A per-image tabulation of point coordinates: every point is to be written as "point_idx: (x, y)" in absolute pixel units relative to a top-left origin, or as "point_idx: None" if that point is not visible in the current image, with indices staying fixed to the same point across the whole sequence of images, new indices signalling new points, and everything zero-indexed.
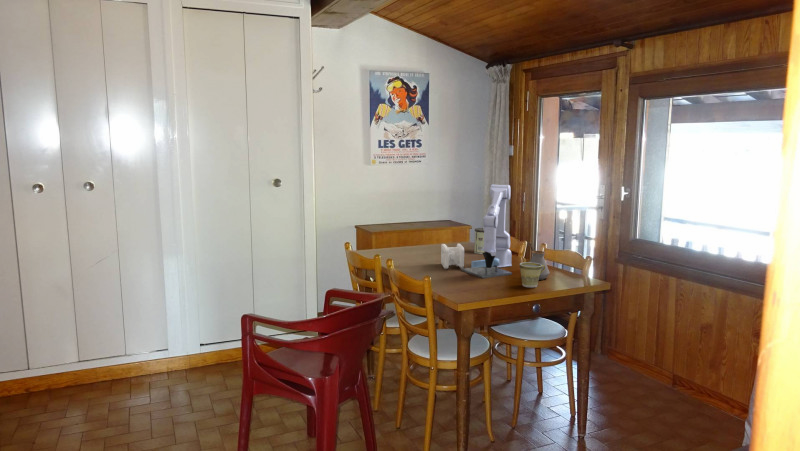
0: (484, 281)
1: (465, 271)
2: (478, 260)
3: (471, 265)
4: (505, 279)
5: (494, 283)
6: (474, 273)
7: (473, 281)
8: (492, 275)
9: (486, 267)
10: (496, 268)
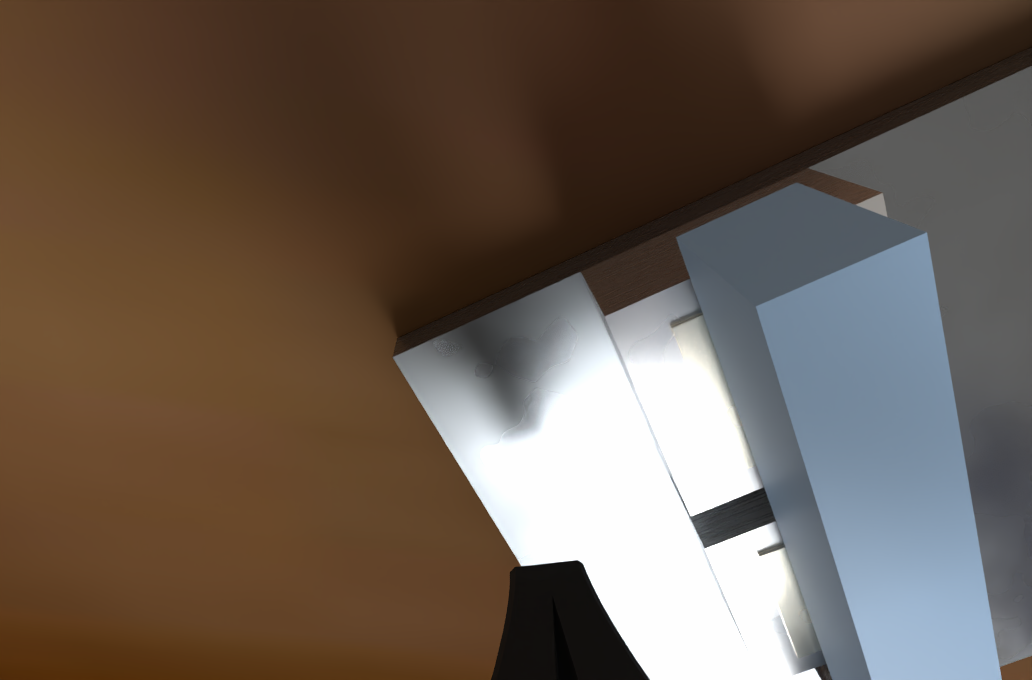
0: (134, 338)
1: (1019, 57)
2: (955, 498)
3: (815, 195)
4: (353, 661)
5: (16, 486)
6: (671, 229)
7: (68, 91)
8: (508, 538)
9: (773, 545)
10: (816, 670)
